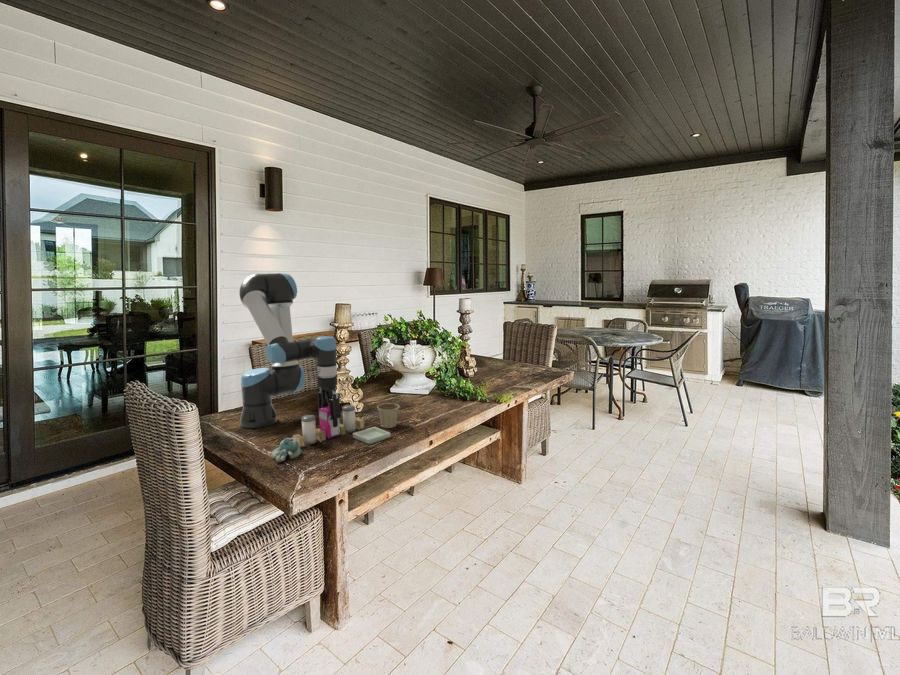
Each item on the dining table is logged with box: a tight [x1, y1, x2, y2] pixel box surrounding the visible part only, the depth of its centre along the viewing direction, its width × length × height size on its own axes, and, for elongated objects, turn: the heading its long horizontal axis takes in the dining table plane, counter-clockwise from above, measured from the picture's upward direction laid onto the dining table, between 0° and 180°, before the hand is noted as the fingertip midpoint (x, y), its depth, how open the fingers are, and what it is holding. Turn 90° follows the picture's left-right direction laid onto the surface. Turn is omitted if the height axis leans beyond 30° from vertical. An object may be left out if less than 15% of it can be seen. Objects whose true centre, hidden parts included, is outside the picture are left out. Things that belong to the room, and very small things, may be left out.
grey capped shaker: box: [341, 404, 357, 434], centre depth 190 cm, size 5×5×10 cm
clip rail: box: [292, 417, 365, 448], centre depth 185 cm, size 8×29×4 cm, turn 135°
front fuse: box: [300, 414, 318, 446], centre depth 177 cm, size 5×5×10 cm
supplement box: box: [318, 405, 341, 440], centre depth 184 cm, size 6×6×12 cm
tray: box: [352, 426, 392, 445], centre depth 182 cm, size 11×11×2 cm
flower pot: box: [376, 402, 400, 429], centre depth 195 cm, size 9×9×9 cm
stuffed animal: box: [271, 437, 302, 462], centre depth 164 cm, size 11×7×12 cm
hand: (330, 432), depth 184 cm, fingers closed on supplement box, 6 cm apart
